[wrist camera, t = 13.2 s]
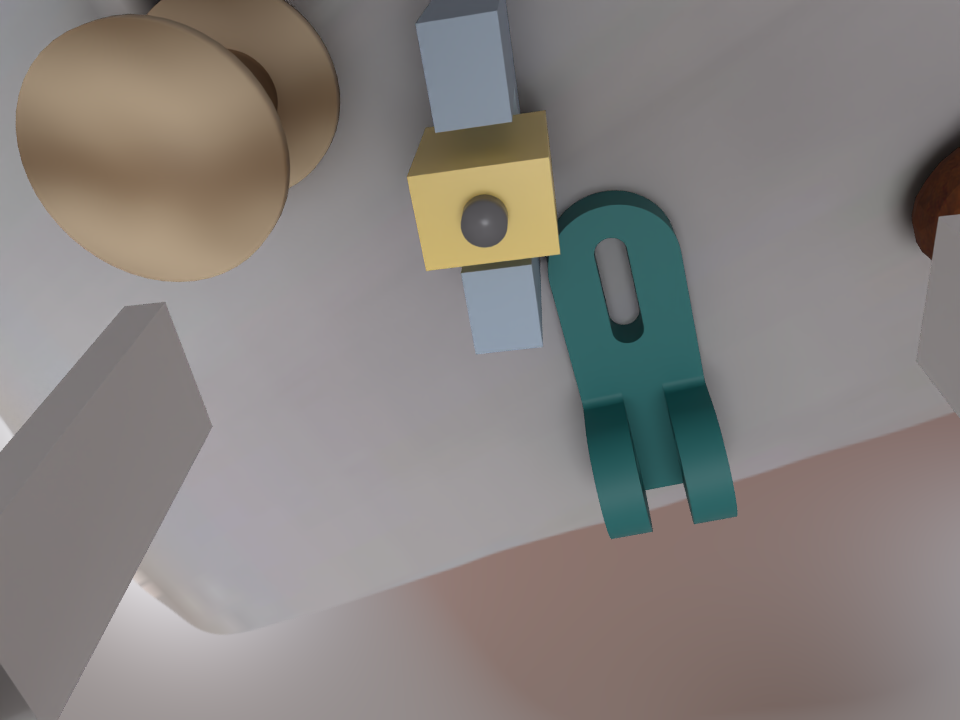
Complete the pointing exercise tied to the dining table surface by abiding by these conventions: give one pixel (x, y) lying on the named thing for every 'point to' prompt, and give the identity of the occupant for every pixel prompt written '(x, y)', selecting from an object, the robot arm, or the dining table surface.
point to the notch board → (473, 103)
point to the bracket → (638, 366)
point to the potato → (937, 201)
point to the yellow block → (485, 193)
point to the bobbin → (177, 131)
